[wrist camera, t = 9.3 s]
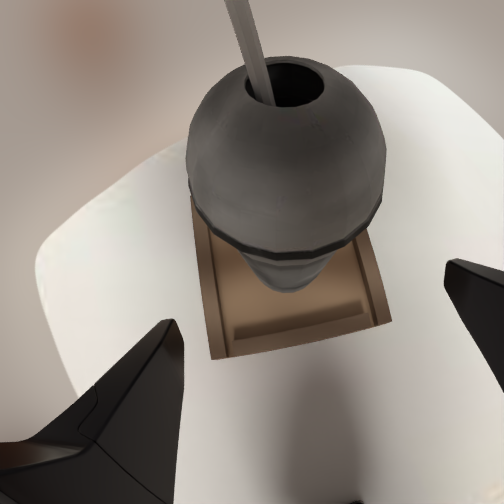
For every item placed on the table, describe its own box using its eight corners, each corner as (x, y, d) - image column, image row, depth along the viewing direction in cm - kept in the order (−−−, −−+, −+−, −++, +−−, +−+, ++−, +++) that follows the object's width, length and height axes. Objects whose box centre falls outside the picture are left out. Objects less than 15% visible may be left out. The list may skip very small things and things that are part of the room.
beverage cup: (334, 318, 20) (566, 53, 1) (227, 306, 21) (-9, 45, 2) (340, 219, 22) (413, -73, 4) (242, 210, 23) (161, -76, 5)
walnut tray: (384, 323, 20) (392, 321, 19) (216, 359, 21) (211, 359, 19) (341, 177, 24) (344, 166, 23) (195, 205, 25) (190, 195, 23)
